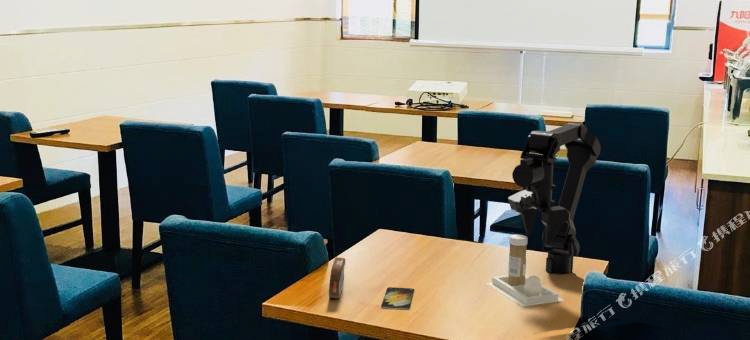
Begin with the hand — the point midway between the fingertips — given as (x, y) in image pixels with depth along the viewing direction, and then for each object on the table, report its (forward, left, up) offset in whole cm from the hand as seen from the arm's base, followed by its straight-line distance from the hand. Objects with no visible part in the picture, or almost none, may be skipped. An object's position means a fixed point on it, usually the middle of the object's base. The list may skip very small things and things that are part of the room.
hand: (538, 239), depth 219 cm
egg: (+6, +8, -12) cm, 16 cm away
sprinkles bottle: (+6, 0, -12) cm, 14 cm away
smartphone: (+37, -5, -14) cm, 40 cm away
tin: (+50, -14, -13) cm, 54 cm away
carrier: (+6, +4, -13) cm, 15 cm away
